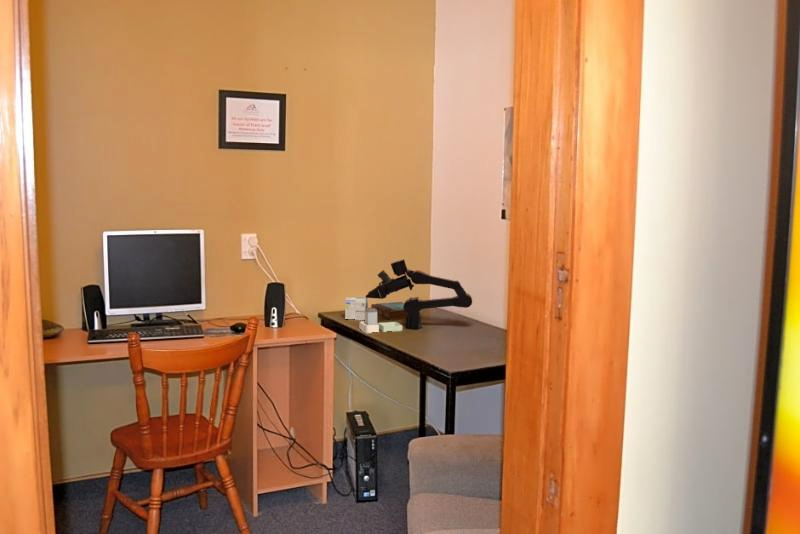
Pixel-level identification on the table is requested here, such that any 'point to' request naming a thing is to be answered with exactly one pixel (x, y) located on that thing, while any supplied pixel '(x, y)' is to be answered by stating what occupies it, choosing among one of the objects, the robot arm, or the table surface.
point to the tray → (390, 326)
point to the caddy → (370, 316)
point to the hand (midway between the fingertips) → (367, 295)
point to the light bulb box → (355, 308)
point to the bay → (368, 327)
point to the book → (391, 310)
